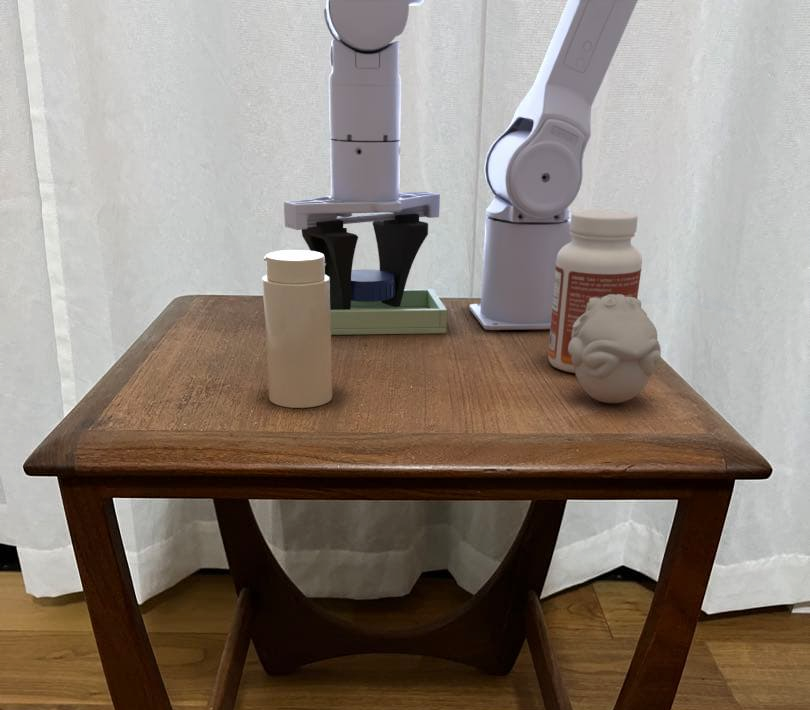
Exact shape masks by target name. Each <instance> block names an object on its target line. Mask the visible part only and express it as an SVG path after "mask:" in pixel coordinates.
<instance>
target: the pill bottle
mask: <svg viewBox="0 0 810 710" xmlns="http://www.w3.org/2000/svg"><path fill="white" fill-rule="evenodd" d="M570 218H571V220H570V227H569V229H570V234H571V235H572V241H571V242H570V243H568V244H566V245H565V246H563V247H562V248H561V250H560V251H559V253H558V255H557V260H556V270H555V282H554V293H553V305H552V316H551V328H550V329H549V330H550V331H549V340H548V341H549V342H548V353H547V358H548V359H547V360H548V362H549V363H550V365H551V366H552V367H553V368H555V369H558V370H560V371H563V372H567V373H572V374H576V373H575V370H574V366H573V363H572V361H571V357H572V356H571V355H570V354H569V351H568V346H569V343H570V341H571V340H572V339H571V335H572V330H573V325H574V323H575V322H576V320H577V319H578V318H579V317H580V316H581V315H583V314H584V313H585V312H586V307H587V306H588V305H587V303H589V299H590V298H593V297H595V298H599V299H601V298H602V297H604V296H607V295H609V294H613V295H617V294H621V295H624V296H625V297H634V298H636V299H638V297H639V296H638V295H639V290H640V282H641V274H642V266H643V257H642V254H641V252H640V251H639V250H638V248H636V247H635V246H633V245H632V238H635V236H636V233H637V228H638V219H639V217H638V214H636V213H633V212H630V211H624V210H623V211H622V210H610V209H582V210H576V211H575V210H574V211H571V214H570Z"/></svg>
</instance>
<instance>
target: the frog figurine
mask: <svg viewBox="0 0 810 710" xmlns="http://www.w3.org/2000/svg"><path fill="white" fill-rule="evenodd" d="M587 305H588V306H587V307H586V312H585V313H584V314H583V315H581V316H580V317H579V318H578V319H577V320H576V322H575V323H574V325H573V330H572V335H571V339H572V340H571V341H570V343H569V346H568V351H569V354H570V355H571V356H572V357H571V361H572V363H573V366H574V370H575V373H574V374H575V376H576V378H577V380H578V383H579V385H580V387H581V388H582V389H583V391H584V392H585V393H586V394H587V395H588V396H589V397H591V398H592V399H594V400H596V401H599V402H602V403H605V404H620V403H621V404H622V403H625V402H627V401H629V400H631V399H633V398H634V397H636V396H637V395H639V394H640V393H641V392H642V391H643V390H644V389H645V387H646V386H647V384H648V382H649V380H650V378H651V377H652V376H653V375H654V373H656V372H655V371H656V369H655V365H657V364H658V363H660V362H661V359H662V358H661V357H662V351H661V345H660V342H659V339H658V330H657V328H656V326H655V324H654V323H653V321H652V320H651V319H650V318H649V316H648V314H647V312H646V311H645V310H644V309H643V308H642V301H641V300H640V299H639V298H637V299H636V298H634V297H625V296H624V295H621V294H617V295H613V294H609V295H607V296H604V297H602V298H601V299H599V298H595V297H593V298H590V299H589V303H587Z"/></svg>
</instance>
